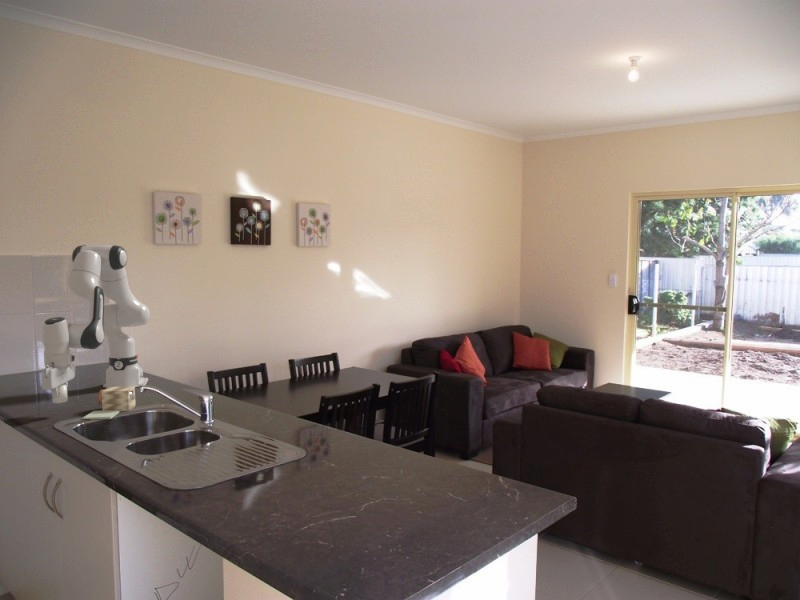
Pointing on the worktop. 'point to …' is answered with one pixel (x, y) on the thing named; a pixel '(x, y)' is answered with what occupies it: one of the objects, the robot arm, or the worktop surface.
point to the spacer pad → (102, 414)
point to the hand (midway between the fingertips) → (59, 395)
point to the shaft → (101, 397)
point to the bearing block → (118, 398)
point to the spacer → (61, 394)
